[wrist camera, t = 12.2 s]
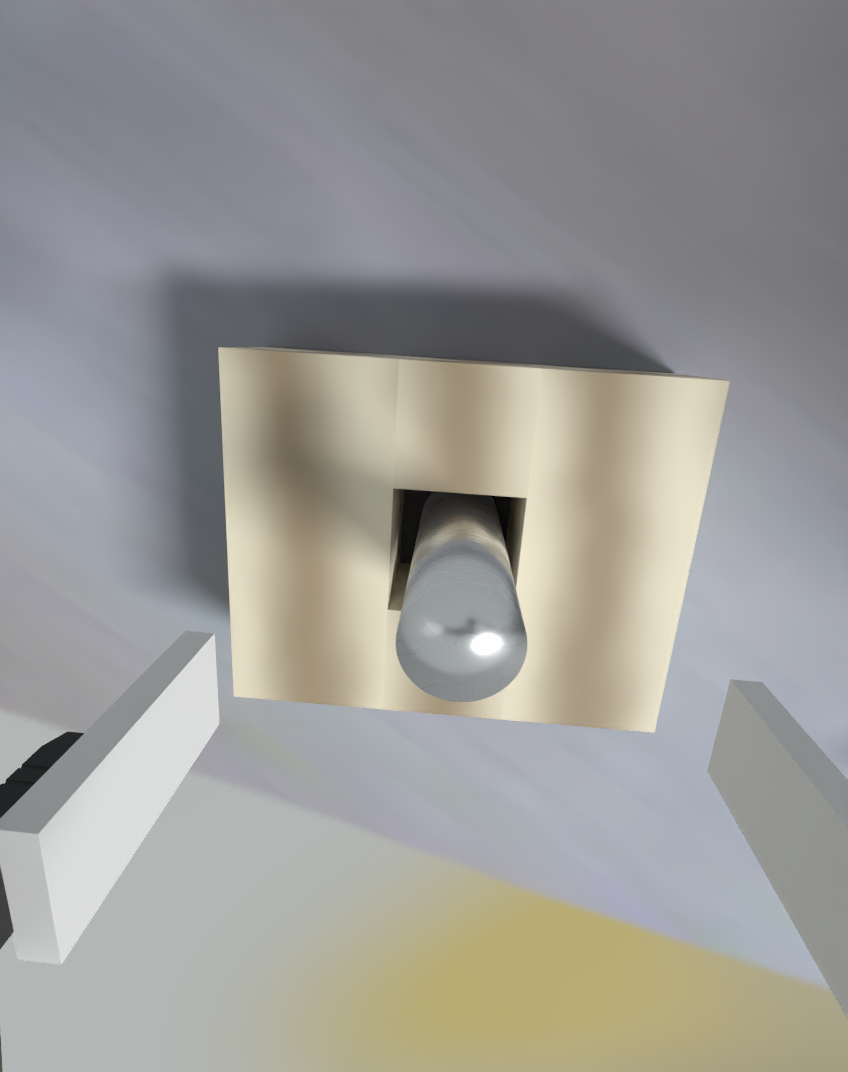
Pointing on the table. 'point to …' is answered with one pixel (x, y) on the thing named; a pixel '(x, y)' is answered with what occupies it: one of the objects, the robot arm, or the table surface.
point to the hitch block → (471, 468)
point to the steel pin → (460, 603)
